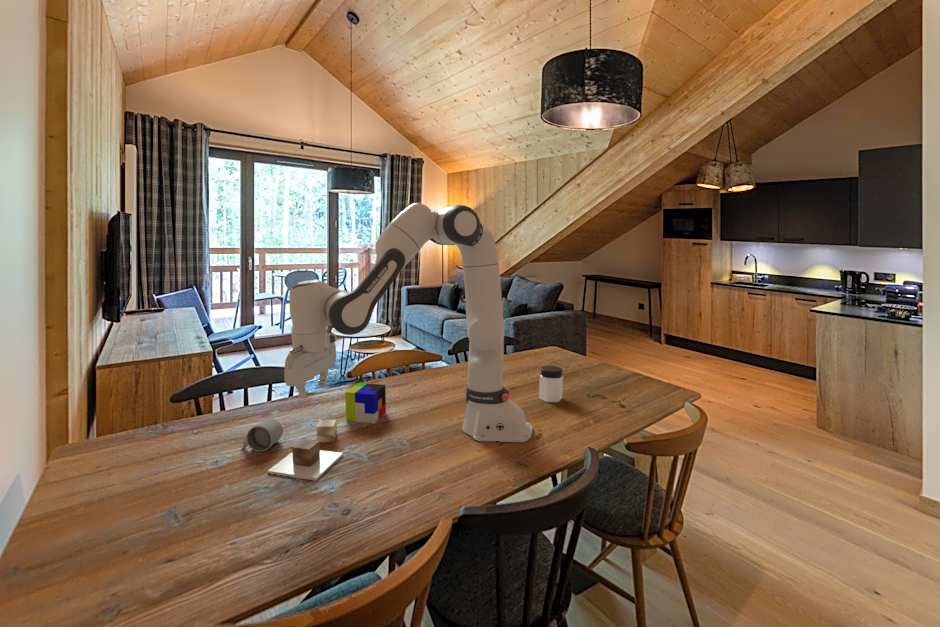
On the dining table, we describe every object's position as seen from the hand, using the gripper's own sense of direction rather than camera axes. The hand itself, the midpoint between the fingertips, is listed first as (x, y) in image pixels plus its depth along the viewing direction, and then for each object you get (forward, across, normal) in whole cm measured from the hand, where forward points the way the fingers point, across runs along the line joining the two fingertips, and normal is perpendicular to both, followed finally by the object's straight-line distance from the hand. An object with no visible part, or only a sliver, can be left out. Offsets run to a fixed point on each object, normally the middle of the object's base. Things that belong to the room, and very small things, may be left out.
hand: (313, 391), depth 127 cm
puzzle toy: (+20, +32, 0) cm, 38 cm away
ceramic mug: (+20, +4, +20) cm, 28 cm away
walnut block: (+19, -3, +2) cm, 19 cm away
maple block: (+20, +13, +4) cm, 24 cm away
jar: (+21, +65, -60) cm, 91 cm away
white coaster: (+20, -3, +2) cm, 20 cm away
